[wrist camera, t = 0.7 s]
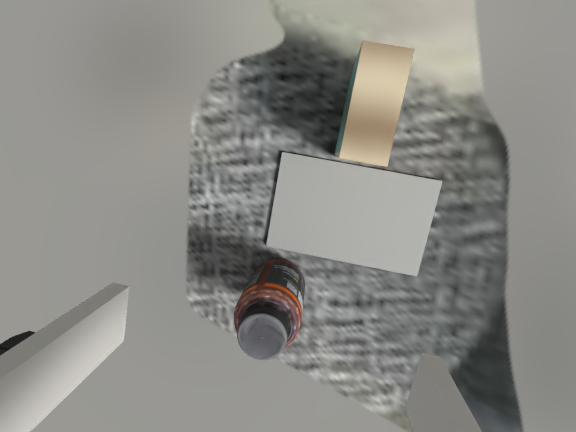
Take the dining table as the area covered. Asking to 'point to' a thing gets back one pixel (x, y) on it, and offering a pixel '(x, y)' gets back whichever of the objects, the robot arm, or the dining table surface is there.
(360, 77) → the small box
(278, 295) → the supplement bottle
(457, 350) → the dining table surface
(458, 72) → the dining table surface
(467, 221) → the dining table surface
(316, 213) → the grey mat
